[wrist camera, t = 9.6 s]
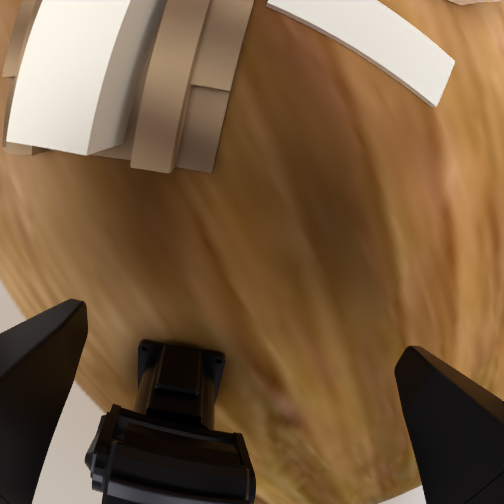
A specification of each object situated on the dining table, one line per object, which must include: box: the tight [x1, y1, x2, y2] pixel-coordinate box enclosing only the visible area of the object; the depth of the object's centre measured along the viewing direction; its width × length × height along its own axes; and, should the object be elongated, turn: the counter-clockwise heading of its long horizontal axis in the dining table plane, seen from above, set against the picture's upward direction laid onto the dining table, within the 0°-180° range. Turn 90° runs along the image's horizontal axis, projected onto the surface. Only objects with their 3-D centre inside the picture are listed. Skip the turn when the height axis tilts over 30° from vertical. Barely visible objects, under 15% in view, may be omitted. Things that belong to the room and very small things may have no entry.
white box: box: [6, 0, 167, 156], centre depth 11 cm, size 12×4×5 cm, turn 163°
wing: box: [266, 0, 455, 107], centre depth 15 cm, size 4×12×1 cm, turn 65°
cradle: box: [2, 0, 254, 173], centre depth 12 cm, size 16×14×3 cm
